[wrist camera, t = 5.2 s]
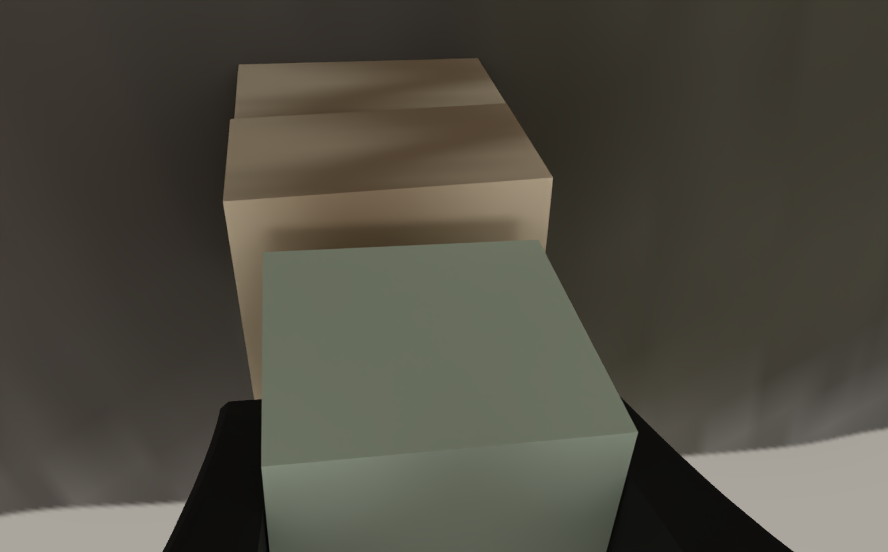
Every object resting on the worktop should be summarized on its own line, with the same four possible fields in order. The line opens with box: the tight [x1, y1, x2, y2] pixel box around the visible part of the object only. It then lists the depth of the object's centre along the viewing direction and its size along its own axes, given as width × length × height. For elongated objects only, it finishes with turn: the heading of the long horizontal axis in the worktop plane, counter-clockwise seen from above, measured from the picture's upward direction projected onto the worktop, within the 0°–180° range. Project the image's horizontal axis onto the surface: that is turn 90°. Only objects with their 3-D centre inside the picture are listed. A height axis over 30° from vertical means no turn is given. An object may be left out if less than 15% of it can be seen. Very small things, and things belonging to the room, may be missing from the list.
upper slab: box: [223, 103, 553, 400], centre depth 15 cm, size 5×5×3 cm
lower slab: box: [234, 58, 505, 119], centre depth 17 cm, size 5×5×3 cm
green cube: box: [261, 240, 638, 552], centre depth 11 cm, size 4×4×4 cm
